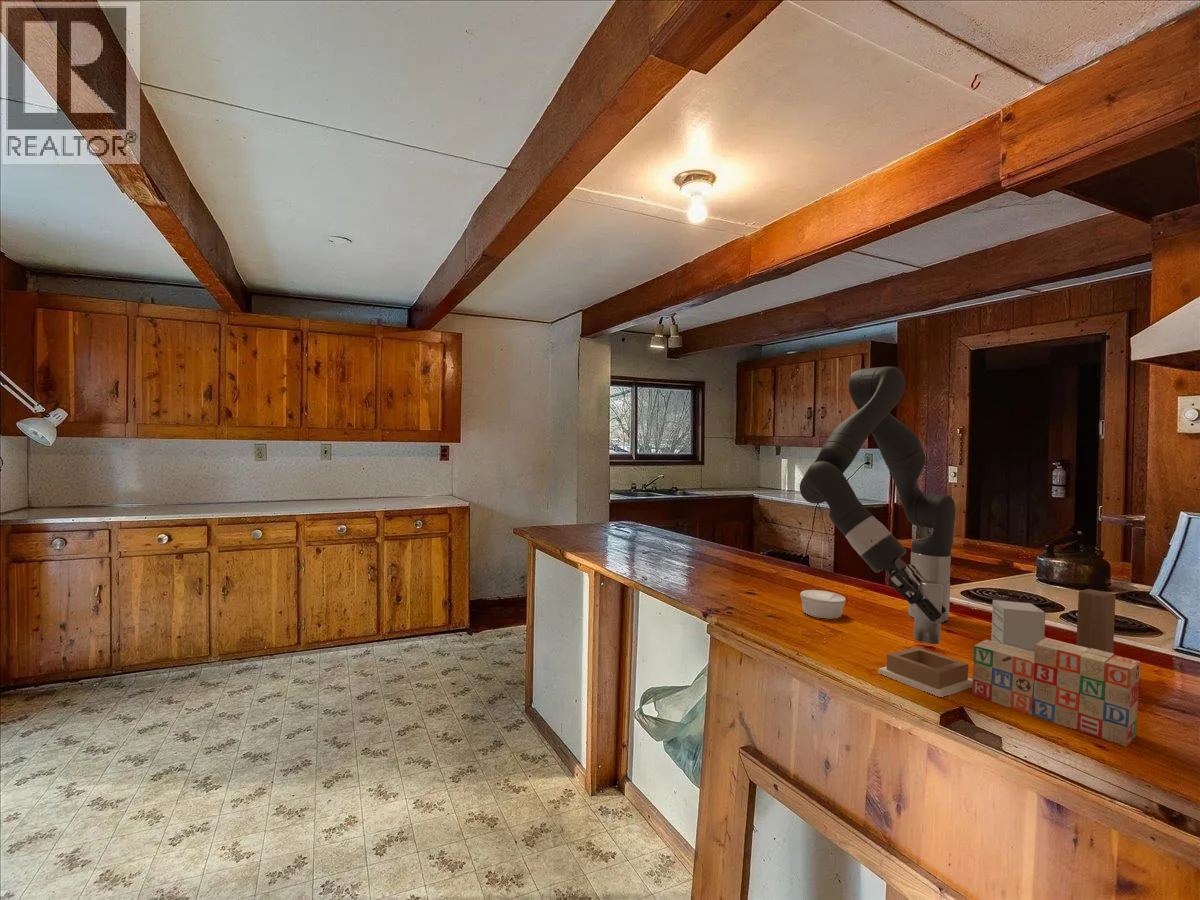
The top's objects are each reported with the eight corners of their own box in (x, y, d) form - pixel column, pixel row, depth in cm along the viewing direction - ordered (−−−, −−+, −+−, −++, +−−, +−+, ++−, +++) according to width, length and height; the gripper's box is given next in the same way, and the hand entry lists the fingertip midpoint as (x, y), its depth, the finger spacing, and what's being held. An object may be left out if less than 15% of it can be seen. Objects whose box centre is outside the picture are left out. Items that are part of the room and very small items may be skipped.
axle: (921, 634, 113) (924, 579, 113) (944, 642, 109) (947, 584, 109) (908, 637, 110) (911, 581, 110) (931, 645, 107) (934, 586, 107)
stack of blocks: (970, 695, 103) (973, 628, 103) (984, 687, 107) (986, 622, 107) (1128, 748, 86) (1132, 667, 86) (1137, 737, 90) (1141, 659, 90)
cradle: (913, 663, 118) (914, 644, 118) (975, 685, 108) (976, 664, 108) (878, 673, 112) (879, 653, 112) (940, 698, 102) (941, 675, 101)
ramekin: (852, 622, 146) (852, 601, 146) (808, 620, 146) (809, 600, 146) (834, 609, 157) (835, 590, 157) (794, 608, 157) (794, 589, 157)
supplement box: (1029, 661, 122) (1032, 602, 122) (1044, 674, 115) (1046, 612, 115) (989, 656, 124) (991, 598, 124) (1001, 668, 117) (1003, 607, 117)
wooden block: (1092, 674, 116) (1096, 586, 116) (1121, 682, 112) (1125, 591, 112) (1073, 682, 111) (1077, 590, 111) (1103, 691, 107) (1107, 596, 107)
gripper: (880, 536, 109) (951, 613, 101) (897, 529, 120) (962, 598, 112) (850, 559, 112) (916, 635, 105) (869, 550, 123) (930, 619, 116)
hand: (939, 615), depth 108 cm, fingers closed on axle, 4 cm apart
